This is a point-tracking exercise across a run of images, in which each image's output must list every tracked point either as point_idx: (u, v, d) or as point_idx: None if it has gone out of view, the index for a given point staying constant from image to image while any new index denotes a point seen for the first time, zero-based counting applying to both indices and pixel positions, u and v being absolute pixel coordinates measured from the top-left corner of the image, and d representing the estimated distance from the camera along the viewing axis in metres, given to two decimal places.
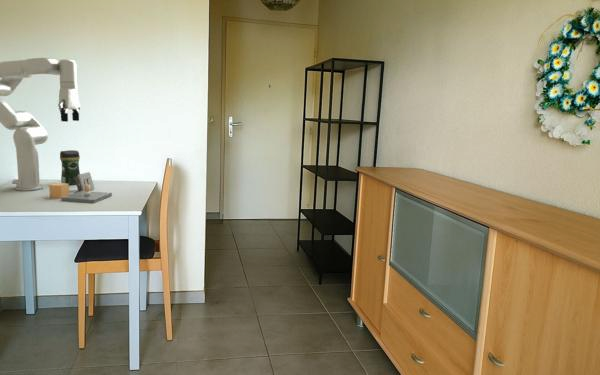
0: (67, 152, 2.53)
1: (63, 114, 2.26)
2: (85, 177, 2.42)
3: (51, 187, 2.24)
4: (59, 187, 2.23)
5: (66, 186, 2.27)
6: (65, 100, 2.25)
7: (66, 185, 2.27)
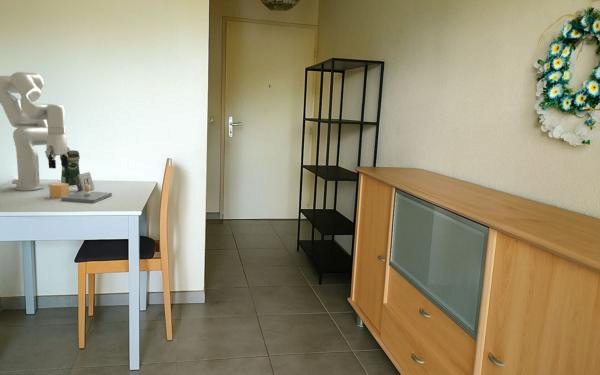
0: None
1: (51, 161, 2.18)
2: (85, 177, 2.42)
3: (51, 187, 2.24)
4: (59, 187, 2.23)
5: (66, 186, 2.27)
6: (53, 147, 2.18)
7: (66, 185, 2.27)
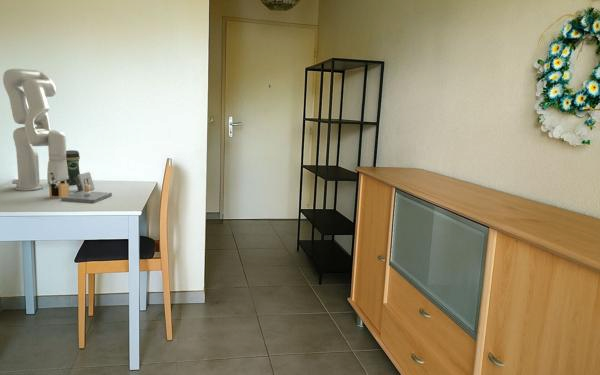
0: (67, 152, 2.53)
1: (54, 189, 2.22)
2: (85, 177, 2.42)
3: None
4: (59, 187, 2.23)
5: (66, 186, 2.27)
6: (54, 173, 2.20)
7: (66, 185, 2.27)
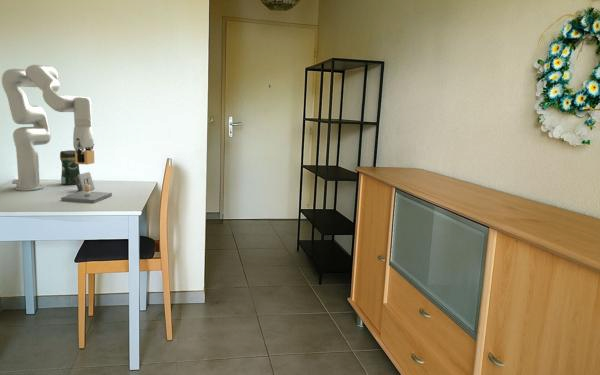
0: (67, 152, 2.53)
1: (79, 155, 2.18)
2: (85, 177, 2.42)
3: None
4: (85, 153, 2.19)
5: (92, 153, 2.23)
6: (80, 139, 2.16)
7: (92, 152, 2.23)
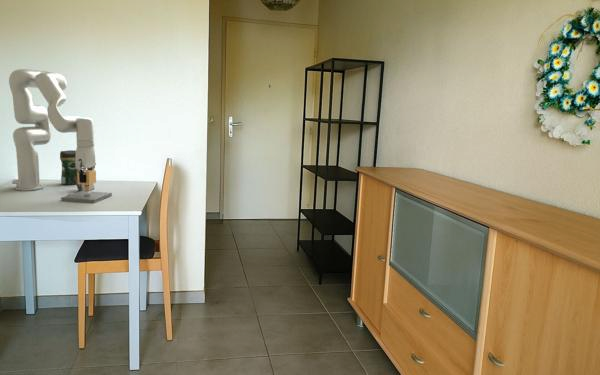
0: (67, 152, 2.53)
1: (82, 175, 2.20)
2: None
3: None
4: (87, 173, 2.21)
5: (94, 173, 2.25)
6: (82, 160, 2.18)
7: (94, 172, 2.25)
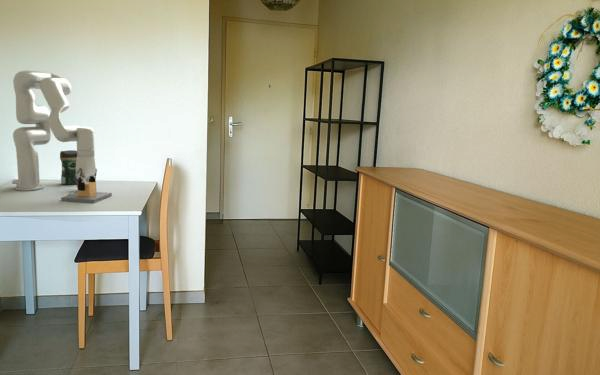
0: (67, 152, 2.53)
1: (80, 183, 2.19)
2: None
3: None
4: (87, 186, 2.22)
5: (94, 185, 2.26)
6: (82, 169, 2.19)
7: (94, 184, 2.26)
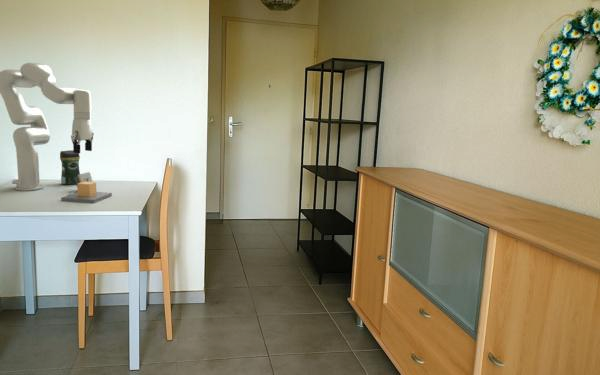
0: (67, 152, 2.53)
1: (76, 146, 2.20)
2: (85, 177, 2.42)
3: (79, 186, 2.23)
4: (87, 186, 2.22)
5: (94, 185, 2.26)
6: (78, 131, 2.19)
7: (94, 184, 2.26)
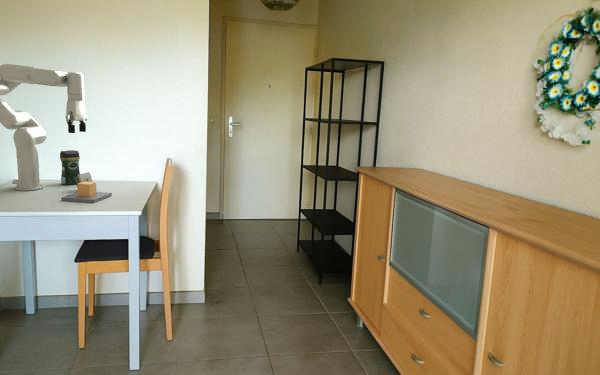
0: (67, 152, 2.53)
1: (70, 126, 2.29)
2: (85, 177, 2.42)
3: (79, 186, 2.23)
4: (87, 186, 2.22)
5: (94, 185, 2.26)
6: (72, 112, 2.28)
7: (94, 184, 2.26)
